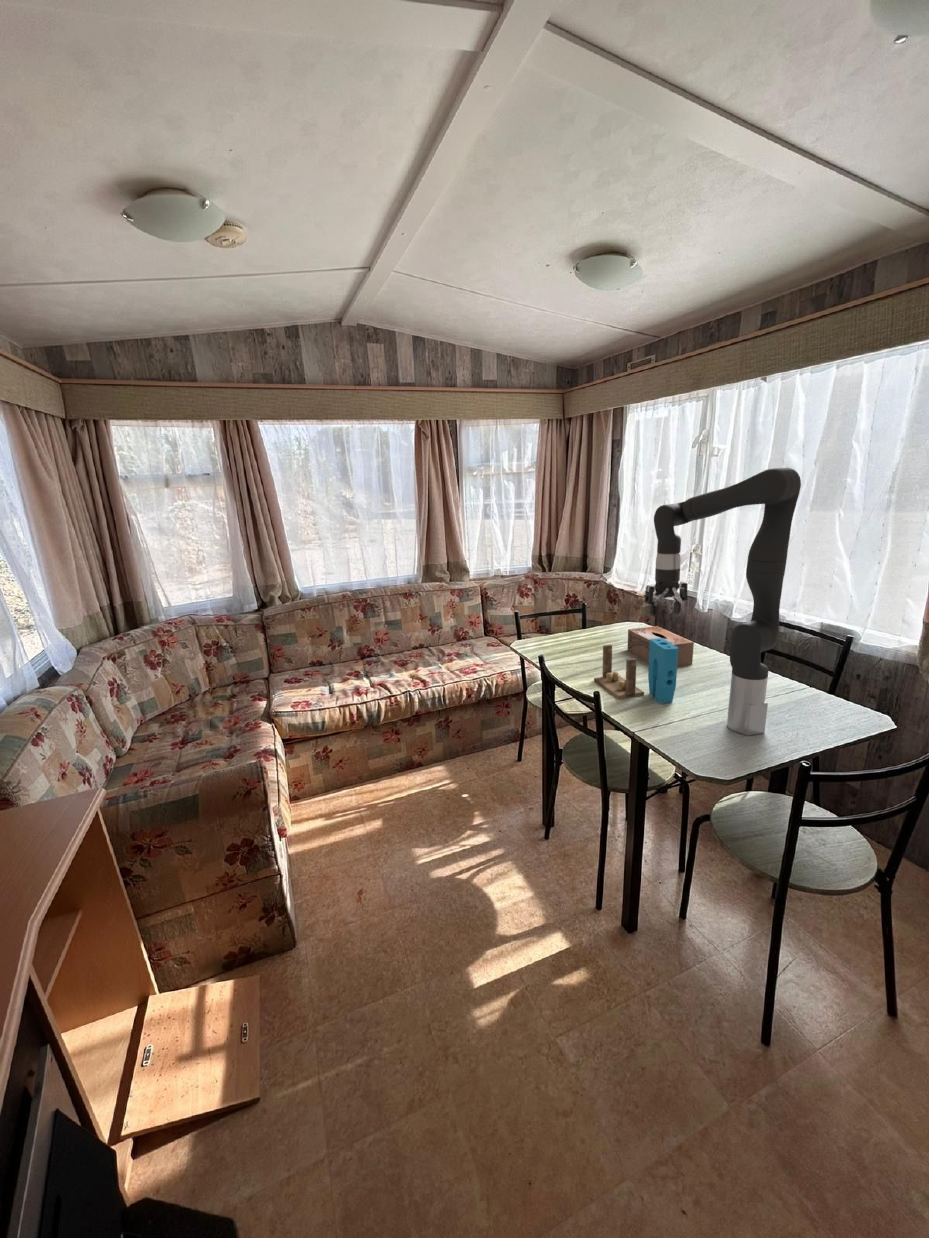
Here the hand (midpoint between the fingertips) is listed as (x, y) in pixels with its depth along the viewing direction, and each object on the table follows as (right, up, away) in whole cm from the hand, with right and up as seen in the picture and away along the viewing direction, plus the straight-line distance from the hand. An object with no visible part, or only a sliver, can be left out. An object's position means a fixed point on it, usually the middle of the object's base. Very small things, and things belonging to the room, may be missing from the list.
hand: (665, 614), depth 165 cm
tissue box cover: (+16, -18, +48) cm, 54 cm away
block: (+2, -29, +8) cm, 30 cm away
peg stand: (-10, -27, +18) cm, 34 cm away
